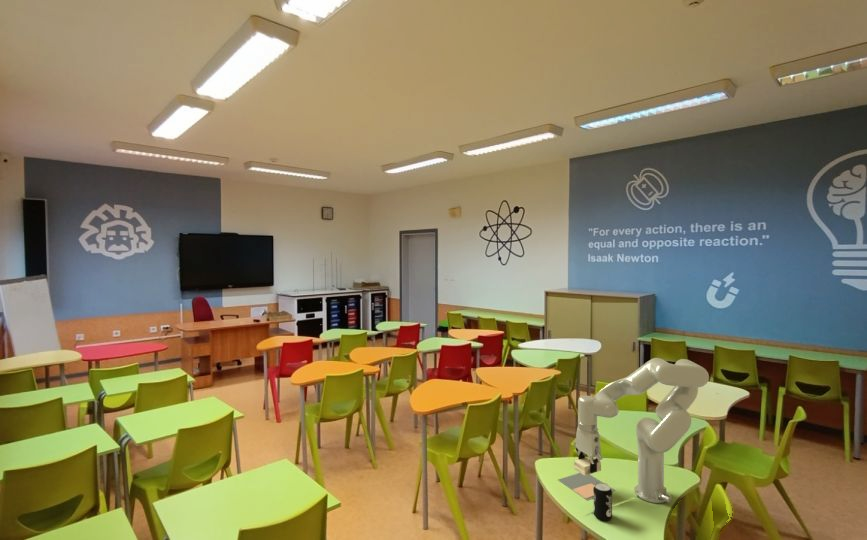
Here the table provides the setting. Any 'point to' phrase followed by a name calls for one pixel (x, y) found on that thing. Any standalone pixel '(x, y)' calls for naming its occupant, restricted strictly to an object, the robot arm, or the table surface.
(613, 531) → the table surface
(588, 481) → the rubber mat
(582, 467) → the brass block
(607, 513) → the beverage can
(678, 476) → the table surface
